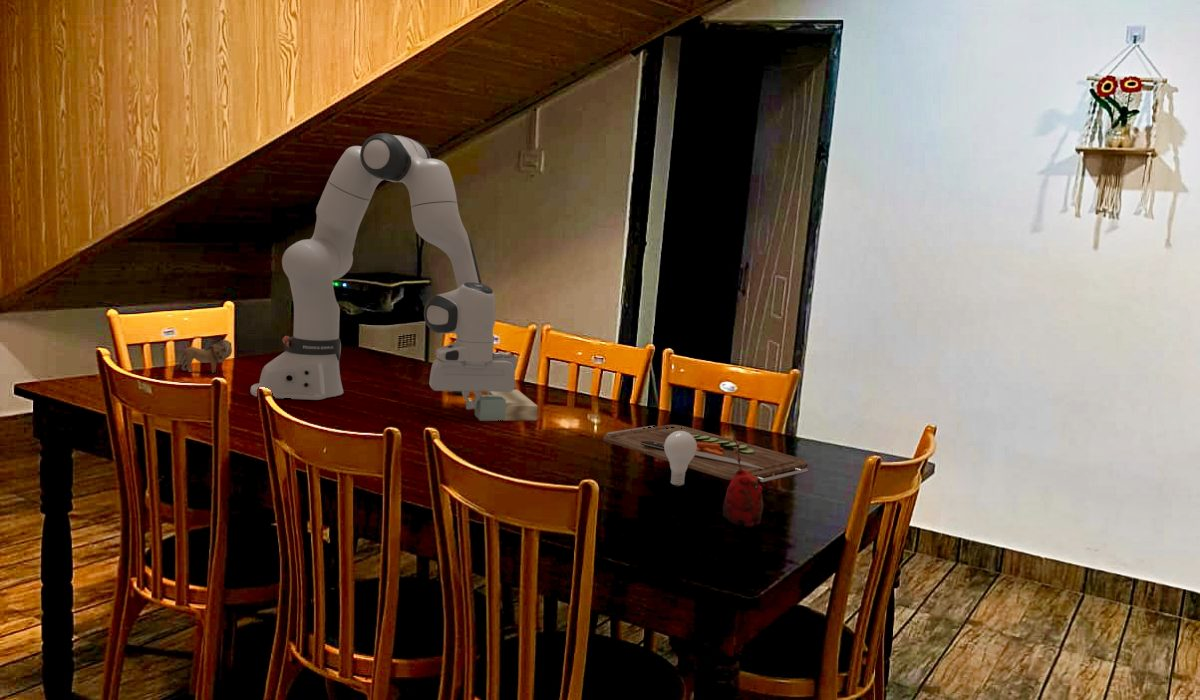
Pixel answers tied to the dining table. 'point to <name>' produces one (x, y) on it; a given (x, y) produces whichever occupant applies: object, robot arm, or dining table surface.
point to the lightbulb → (679, 454)
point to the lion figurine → (206, 355)
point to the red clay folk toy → (743, 498)
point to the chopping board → (711, 452)
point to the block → (491, 408)
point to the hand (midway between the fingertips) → (471, 409)
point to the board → (517, 405)
